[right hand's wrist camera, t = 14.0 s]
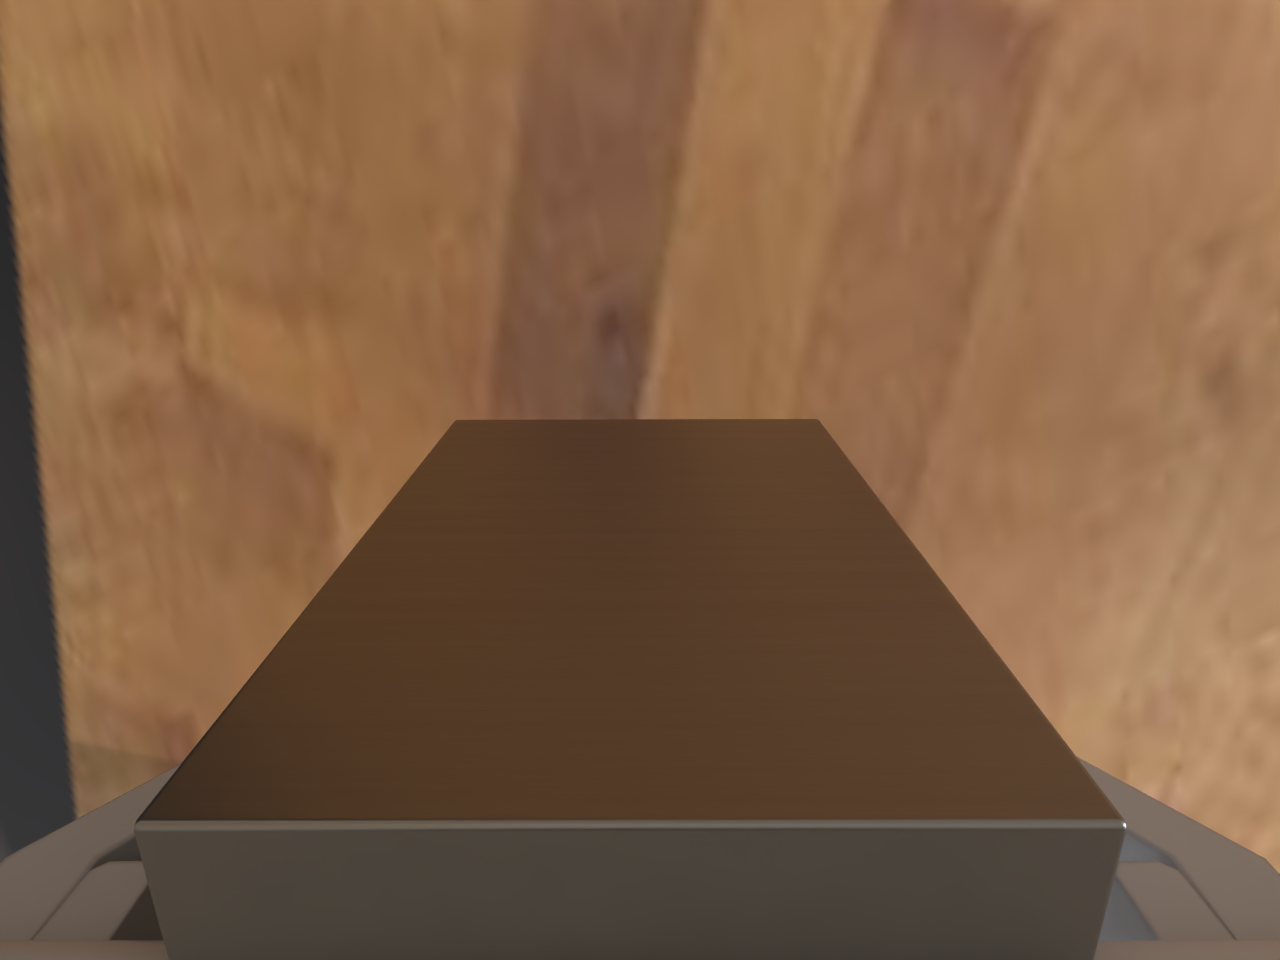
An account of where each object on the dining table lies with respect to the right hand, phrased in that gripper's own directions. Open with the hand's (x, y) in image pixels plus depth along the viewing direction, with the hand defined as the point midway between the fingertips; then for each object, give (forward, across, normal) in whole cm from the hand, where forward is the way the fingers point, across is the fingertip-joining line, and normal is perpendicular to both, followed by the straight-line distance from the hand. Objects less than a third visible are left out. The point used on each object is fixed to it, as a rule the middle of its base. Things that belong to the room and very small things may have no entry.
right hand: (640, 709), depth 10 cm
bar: (+3, 0, -10) cm, 11 cm away
